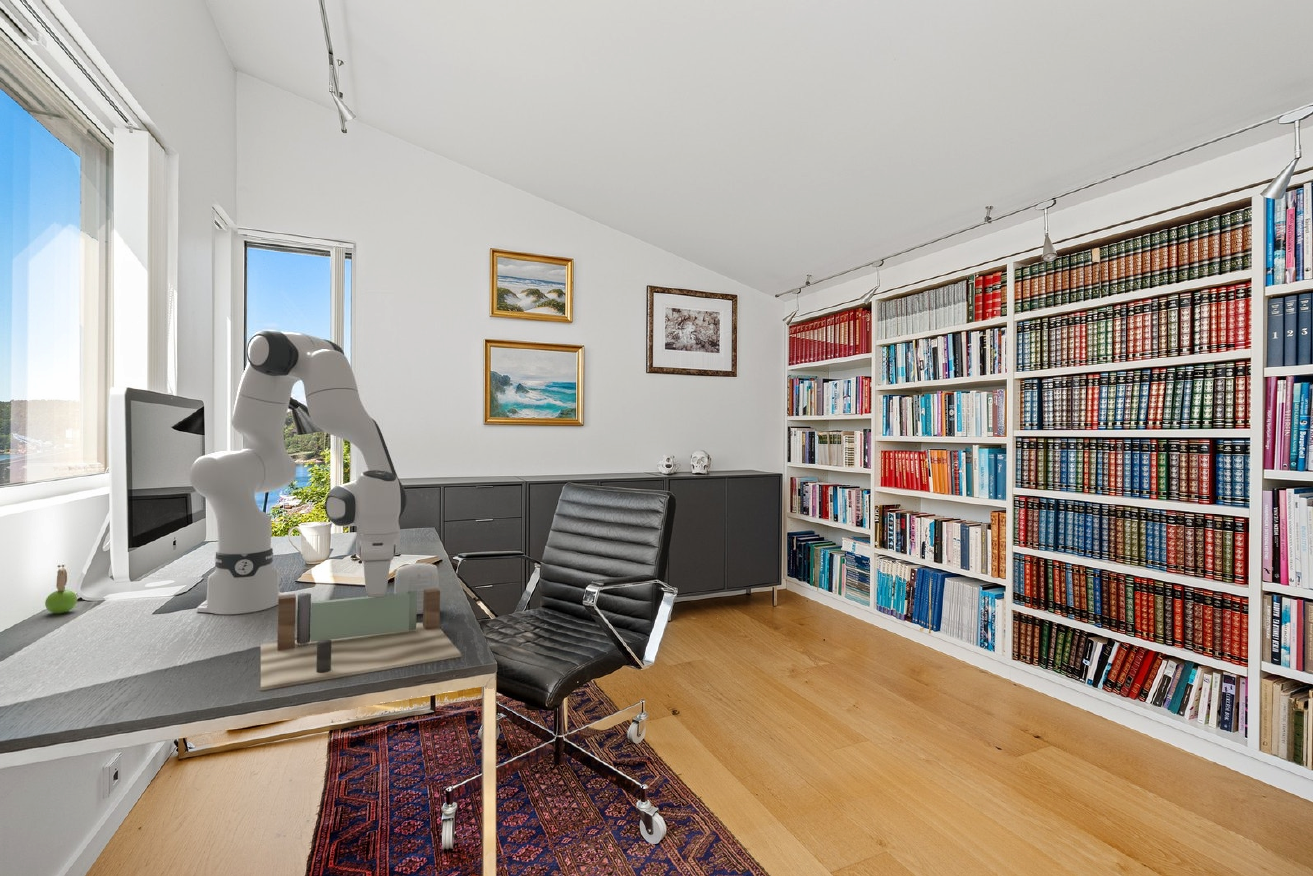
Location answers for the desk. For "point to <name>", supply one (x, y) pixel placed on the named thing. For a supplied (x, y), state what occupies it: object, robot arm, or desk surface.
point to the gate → (355, 616)
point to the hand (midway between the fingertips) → (376, 606)
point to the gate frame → (351, 648)
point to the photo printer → (416, 580)
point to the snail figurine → (61, 595)
